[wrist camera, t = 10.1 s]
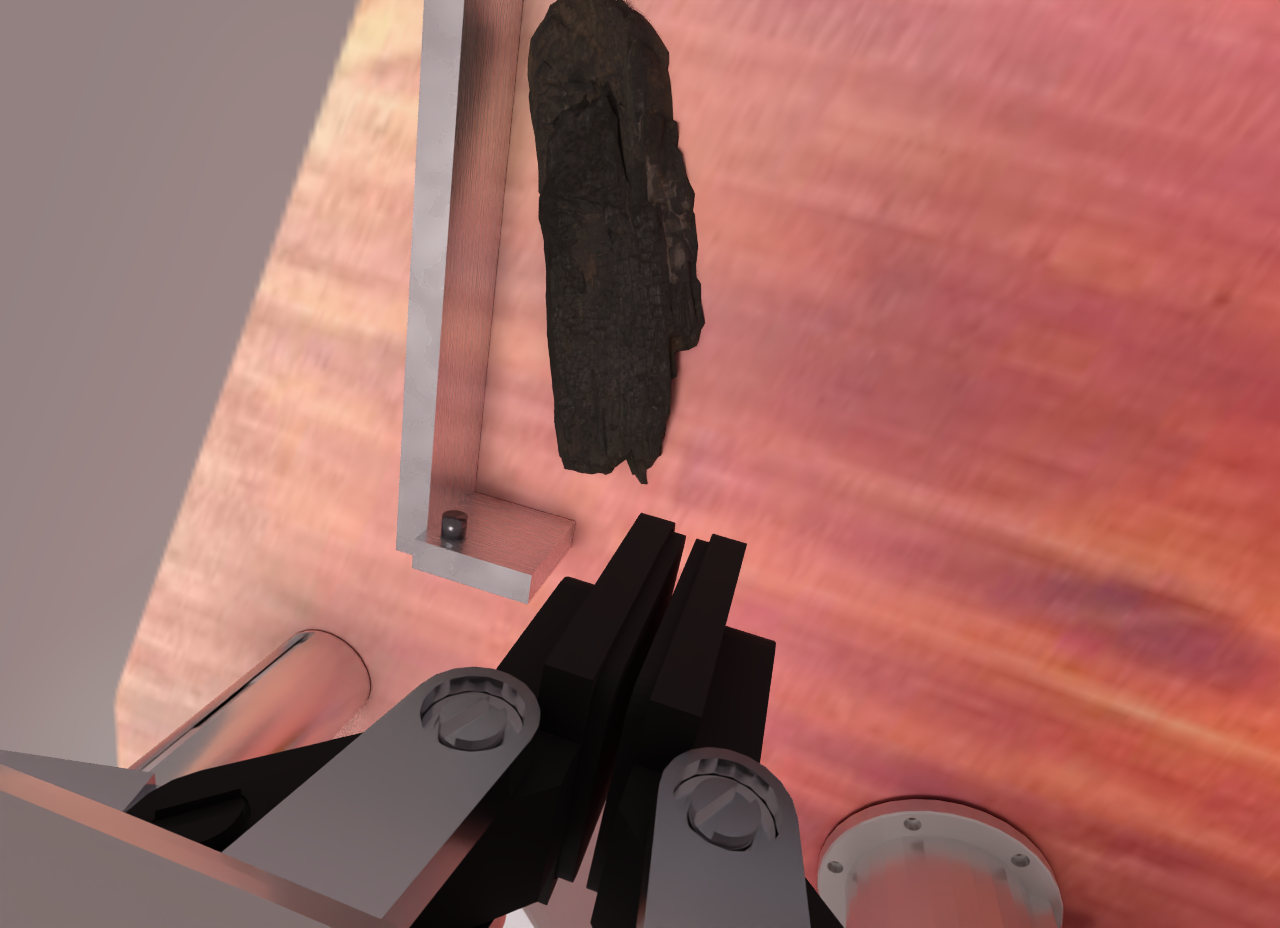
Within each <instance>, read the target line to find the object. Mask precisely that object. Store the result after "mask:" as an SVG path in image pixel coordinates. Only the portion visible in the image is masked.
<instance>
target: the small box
mask: <svg viewBox="0 0 1280 928" xmlns="http://www.w3.org/2000/svg"><path fill="white" fill-rule="evenodd" d="M605 803H606V801H605ZM604 807H605V804H604V806H603V809H602V812H601V814H600V817H599V819H598V822H597V824H596V827H595V830H594V832H593V835H592V837H591V840H590V843H589V845H588V848H587V850H586V853H585V855H584V858H583V861H582V863H581V866H580V868H579V871H578V873H577V876H576V878H575V880H574V882H573V883H571V882H569V881H566V880H564V879H561V878H558V880H557V883H556V885H555V888H554V890H553V893H552V895H551V897H550V900H549V902H548V905H544V904H542V903H539V902H536V903H534V904H531V905H529V906H526V907H524V908H521V909H519V910H516V911H514V912H511V913H509V914H506V920H505V924H504V926H503V928H592V926H591V924H590V921H591V917H592V913H593V909H594V905H595V901H596V896H597V892H594V891H592V890H589V889H587V888H586V885H587V880H588V876H589V872H590V867H591V863H592V859H593V854H594V850H595V846H596V841H597V837H598V833H599V828H600V824H601V820H602V816H603V811H604Z"/></svg>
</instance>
